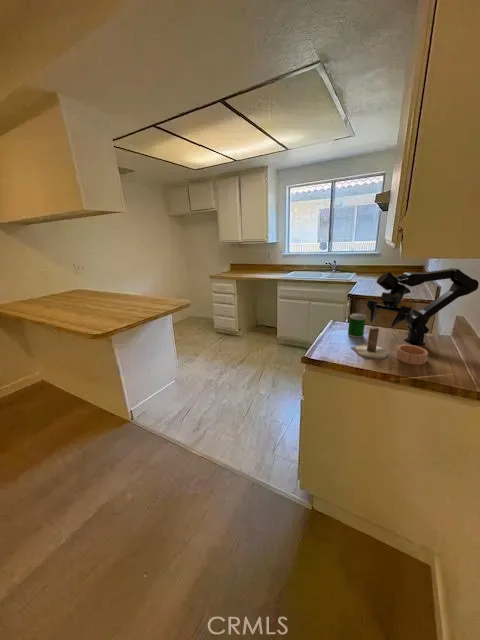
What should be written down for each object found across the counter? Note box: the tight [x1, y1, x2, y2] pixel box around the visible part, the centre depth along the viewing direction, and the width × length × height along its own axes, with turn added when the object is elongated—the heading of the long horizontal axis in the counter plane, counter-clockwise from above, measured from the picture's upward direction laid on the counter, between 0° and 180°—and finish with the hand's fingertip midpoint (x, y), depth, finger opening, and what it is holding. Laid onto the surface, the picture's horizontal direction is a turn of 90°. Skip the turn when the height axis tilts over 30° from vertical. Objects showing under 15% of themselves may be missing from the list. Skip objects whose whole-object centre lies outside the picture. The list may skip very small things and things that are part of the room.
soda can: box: [347, 312, 367, 339], centre depth 137 cm, size 8×8×12 cm
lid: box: [354, 326, 389, 360], centre depth 117 cm, size 13×13×12 cm
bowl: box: [394, 344, 429, 366], centre depth 112 cm, size 11×11×4 cm
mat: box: [349, 346, 395, 361], centre depth 119 cm, size 13×13×1 cm
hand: (380, 323), depth 119 cm, fingers open, 9 cm apart
